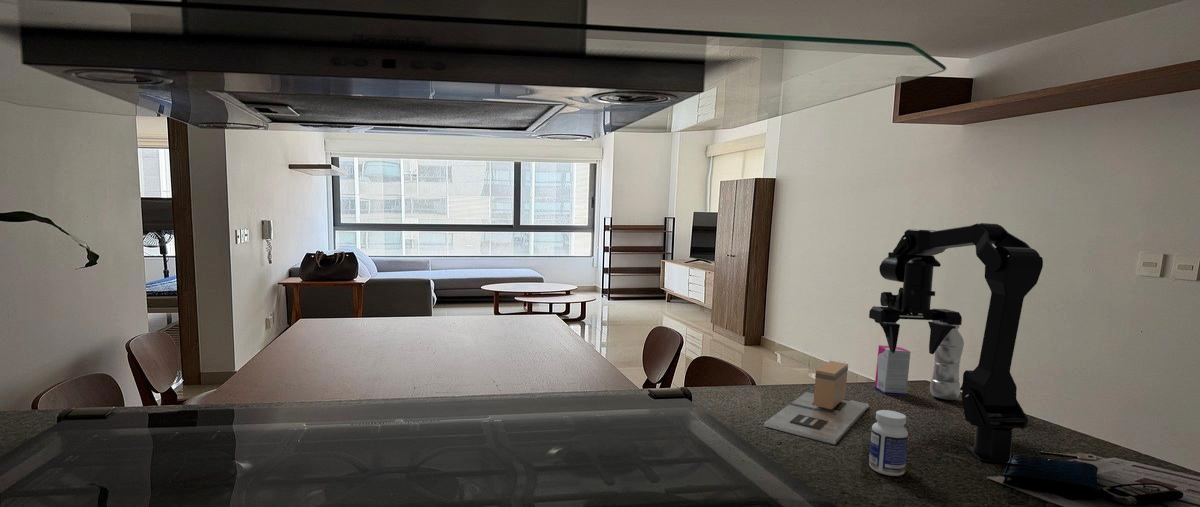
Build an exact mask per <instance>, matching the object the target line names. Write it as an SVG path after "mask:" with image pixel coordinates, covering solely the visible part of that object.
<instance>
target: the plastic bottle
mask: <svg viewBox="0 0 1200 507" xmlns="http://www.w3.org/2000/svg"><path fill="white" fill-rule="evenodd" d="M953 326H956V328H955V329H952V330H951V331H950V332H949V333H948V334H947V336H946V337H945V338H944V339H943V341H942V342H941V344H940V345H939V347H938V348H937V350H936V351H935V353H934V366H933V372H932V376H931V379H930V384H929V393H930V394H931V395H932V396H933V397H935V398H937V399H941V400H945V401H946V400H949V401H955V400H957V399H958V398H959V397H960V395H961V390H960V388H961V384H960V365H961V364H960V363H961V358H962V355H963V350H964V346H965V342H964V338H963V336H962V334H961V333H960V331H959V329H960V326H961V325H953Z"/></svg>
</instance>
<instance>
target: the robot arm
mask: <svg viewBox="0 0 1200 507" xmlns="http://www.w3.org/2000/svg"><path fill="white" fill-rule="evenodd" d="M971 246H975V256H976V257H977V258H978V259H979V260H980V261H981V262H982V264H983V265H984V279H985V281H986V283H987V285H988V288H989V290H990V292H991V293H990V298H989V299H990V300H989V304H988V310H987V311H988V312H987V317H986V321H985V328H984V331H983V338H982V344H981V349H980V355H979V361H978V365H977V366H976V367H975V368H974V369H973V370H964V372H963V374H962V384H961V385H960V391H961V401H962V406H963V413H964V420H965V421H966V422H967V423H969V424H970V425H972V426H974V427H975V433H974V442H973V444H974V445H965V449H967V450H968V452H970V453H971V454H972V455H973V456H974V457H975V458H977V459H978V460H979V461H981V462H986V463H987V462H989V463H994V464H996V463H997V464H1005V465H1008V464H1007V462H1008V461H1009V459H1010V456H1011V454H1012V453H1011V452H1012V451H1011V450H1012V446H1013V445H1012V443H1013V435H1014V434H1013V432H1014V429H1021V430H1025V429H1026V426H1027V425H1028V423H1029V418H1028V416H1027V415H1026V412H1025V411H1024V409H1023V408H1022V406H1021V405H1020V403H1019V401H1018V399H1017V384H1016V382H1015V380H1014V378H1013V376H1012V374H1011V366H1012V361H1013V356H1014V352H1015V346H1016V342H1017V341H1016V340H1017V335H1018V330H1019V325H1020V319H1021V314H1022V309H1023V303H1024V299H1025V297H1026V296H1027V295H1028V294H1029V292H1030V291H1031V290H1032V289H1034V287H1035V286H1036V285H1037V284H1038V282H1039V279H1040V276H1041V274H1042V270H1043V268H1044V267H1043V266H1044V259H1043V257H1042V256H1041V255H1040V253H1039V252H1038V251H1037V250H1036V249H1034V248H1032V247H1030V245H1029V244H1028V243H1026V242H1025V241H1023V240H1022V239H1020V238H1018V237H1017V236H1015V235H1014V234H1012V233H1009V231H1007V230H1006V229H1005V227H1004V226H1002V225H1000V224H998V223H988V222H987V223H984V222H977V223H975V224H971V225H965V226H960V227H959V226H958V227H952V228H946V229H940V230H934V229H933V230H932V229H914V228H912V229H911V228H910V229H907V230H905V231H904V232H903V235H902V236H901V237H900V238H899V241H898V242H897V244H896V246H895V248H894V249H893V250H892V252H889V251H888V255H887V257H886V258H885V257H884V259H882V261H881V263H880V265H879V266H878V267H879V274H880V276H881V277H882V278H883V279H885V280H888V281H894V282H898V283H903V284H902V287H899V289H898V294H893V293H892V292H891V291H883V292H881V293H880V299H879V300H880V306H872V307H871V309H869V313H868V318H869V319H872V320H874V322H875V323H877V324H879V325H880V327H881V328H882V330H883V333H884V335H885V338H886V341H887V346H889V349H890V352H892V353H895V350H896V347H898V346H897V344H898V338H899V334H900V327H901V325H900V323H897V322H898V321H900V320H913V321H914V320H915V321H916V320H917V321H918V320H919V321H927V323H928V326H929V330H930V332H929V342H928V353H929V354H930V355H935V351H936V350H937V348H938V347H939V345H940V344H941V342H942V341H943V339H944V338H945V337H946V336H947V334H948V333H949V332H950V331H951V330H952V329H955V328H956V326H953V325H959V326H962V322H963V317H962V315H961V313H960V312H959V311H955V310H951V309H947V308H945V309H944V308H932V309H931V301H932V297H935V296H936V291H935V290H934V291H933V290H932V289H933V278H934V277H933V276H934V267H935V268H936V267H937V268H939V267H941V265H942V264H941V262H940V261H938V260H937V259H936V257H935V255H939V254H943V253H944V252H945V251H946V250H948V249H952V248H953V249H955V248H961V247H971ZM989 415H1000V416H989Z"/></svg>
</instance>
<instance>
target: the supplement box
mask: <svg viewBox="0 0 1200 507" xmlns="http://www.w3.org/2000/svg"><path fill="white" fill-rule="evenodd" d="M877 351H878V352H877V359H876V360H877V361H876V370H875V378H874V389H875V390H877V391H879V392H880V393H882V394H883V395H890V396H893V395H894V396H906V395H907V393H908V392H907V391H908V390H907V389H908V380H909V372H910V371H909V370H910V363H911V362H910V360H911V351H909V350H908V349H905V348H903V347H901V346H896V350H895V353H892V352H890V349H889V345H880V344H879V345H878V350H877Z"/></svg>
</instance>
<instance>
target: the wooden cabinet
mask: <svg viewBox="0 0 1200 507" xmlns="http://www.w3.org/2000/svg"><path fill="white" fill-rule="evenodd" d="M848 370H849V363H846V362H845V363H844V362H839V361H832V360H829V361H828V362H826V363H825V364H824V365H822V366H820V367H819V368H817V369H816V370H815V378H814V379H815V381H814V404H813V405H814V406H819V407H823V408H828V409H833V408H834V407H835V406H836V405H837V404H838V403H840V402H841V401H842V400H843V399H844V398H846V394H847V382H848V381H847V379H848Z"/></svg>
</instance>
